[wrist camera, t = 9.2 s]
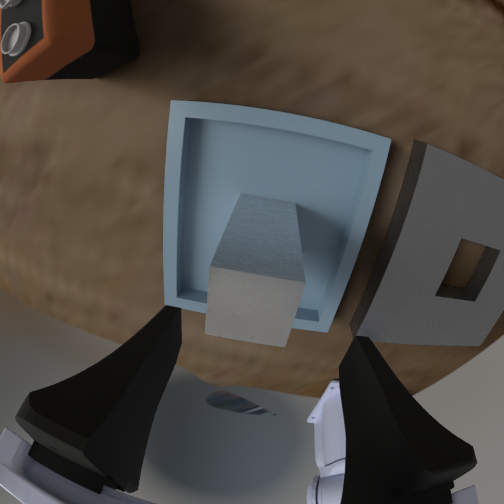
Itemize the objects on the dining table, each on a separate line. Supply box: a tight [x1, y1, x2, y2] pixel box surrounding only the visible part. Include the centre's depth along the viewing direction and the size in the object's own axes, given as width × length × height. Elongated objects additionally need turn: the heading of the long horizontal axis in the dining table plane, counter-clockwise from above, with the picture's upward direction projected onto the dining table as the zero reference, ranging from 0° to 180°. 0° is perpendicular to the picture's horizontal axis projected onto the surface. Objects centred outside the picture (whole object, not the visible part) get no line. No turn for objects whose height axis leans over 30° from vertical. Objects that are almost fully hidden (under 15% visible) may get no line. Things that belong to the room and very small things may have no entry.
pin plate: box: [350, 139, 504, 346], centre depth 19 cm, size 16×16×2 cm
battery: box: [0, 0, 139, 83], centre depth 9 cm, size 4×7×10 cm, turn 12°
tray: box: [163, 100, 392, 332], centre depth 19 cm, size 15×13×2 cm
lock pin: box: [205, 193, 306, 347], centre depth 15 cm, size 4×4×9 cm
